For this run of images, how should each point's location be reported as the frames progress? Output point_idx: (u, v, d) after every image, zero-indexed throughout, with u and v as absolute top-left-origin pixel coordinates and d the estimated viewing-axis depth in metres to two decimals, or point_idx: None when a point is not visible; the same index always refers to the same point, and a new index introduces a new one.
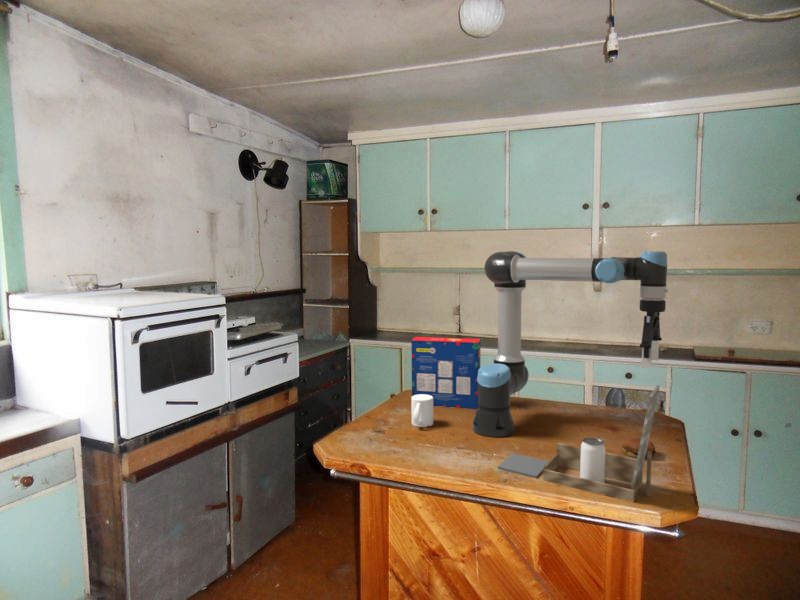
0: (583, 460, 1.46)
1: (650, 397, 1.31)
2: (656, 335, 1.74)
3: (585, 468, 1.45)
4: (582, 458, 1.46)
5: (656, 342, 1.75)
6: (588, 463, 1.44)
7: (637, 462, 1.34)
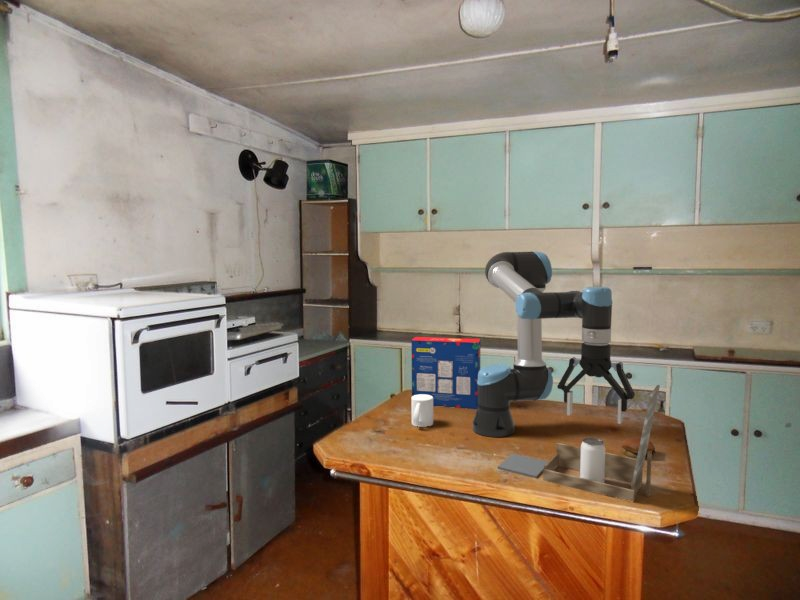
0: (583, 460, 1.46)
1: (650, 397, 1.31)
2: None
3: (585, 468, 1.45)
4: (582, 458, 1.46)
5: None
6: (588, 463, 1.44)
7: (637, 462, 1.34)
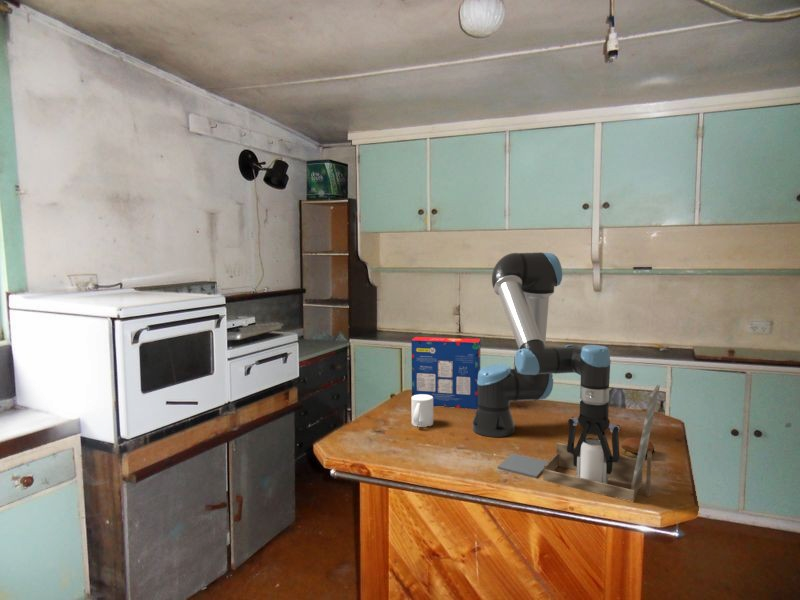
0: (583, 460, 1.46)
1: (650, 397, 1.31)
2: None
3: (585, 468, 1.45)
4: (582, 458, 1.46)
5: None
6: (588, 463, 1.44)
7: (637, 462, 1.34)
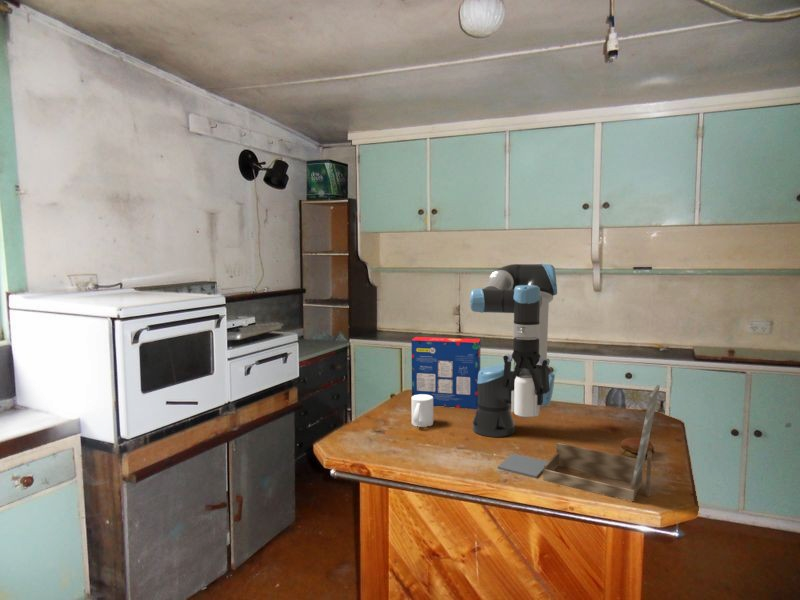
0: (516, 393, 1.55)
1: (650, 397, 1.31)
2: None
3: (518, 400, 1.55)
4: (515, 391, 1.56)
5: None
6: (520, 395, 1.54)
7: (637, 462, 1.34)
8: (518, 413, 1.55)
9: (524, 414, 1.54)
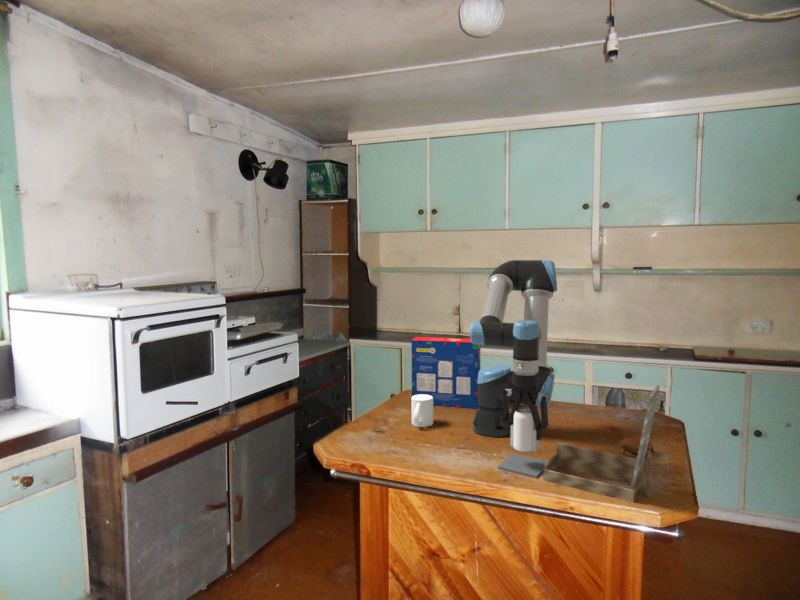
0: (515, 427, 1.56)
1: (650, 397, 1.31)
2: None
3: (517, 435, 1.56)
4: (514, 426, 1.56)
5: None
6: (519, 430, 1.55)
7: (637, 462, 1.34)
8: (517, 448, 1.56)
9: (523, 449, 1.55)
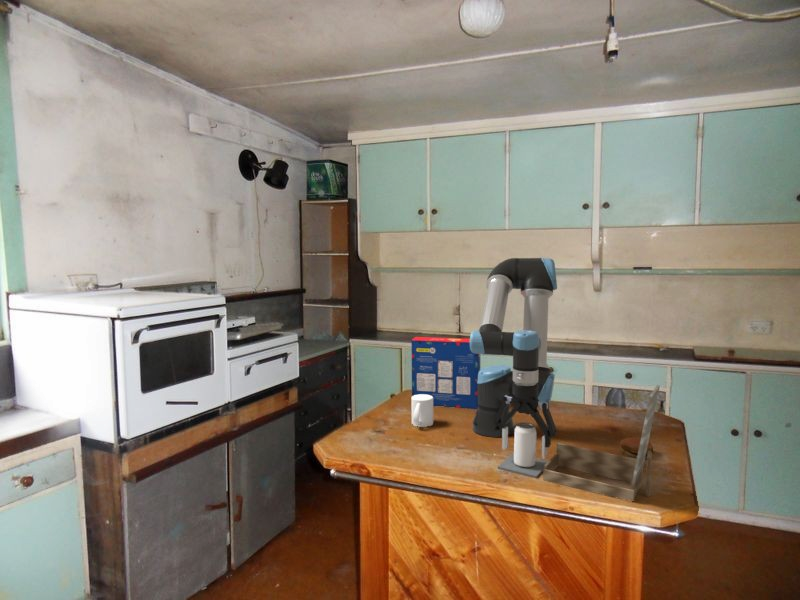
0: (516, 442, 1.57)
1: (650, 397, 1.31)
2: None
3: (517, 450, 1.56)
4: (515, 441, 1.57)
5: None
6: (519, 445, 1.56)
7: (637, 462, 1.34)
8: (517, 463, 1.56)
9: (523, 464, 1.55)
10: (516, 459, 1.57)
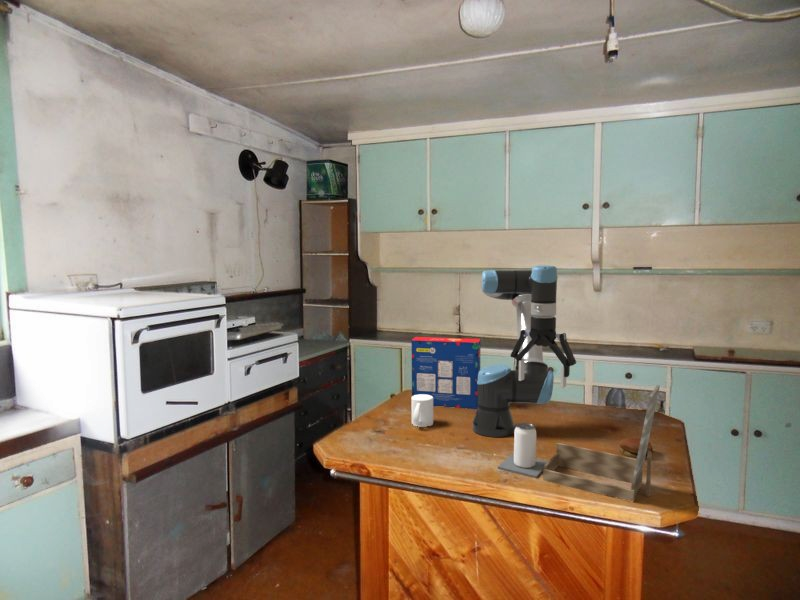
0: (515, 443, 1.57)
1: (650, 397, 1.31)
2: None
3: (517, 451, 1.56)
4: (515, 441, 1.57)
5: None
6: (519, 446, 1.55)
7: (637, 462, 1.34)
8: (517, 463, 1.56)
9: (523, 465, 1.55)
10: (516, 460, 1.57)
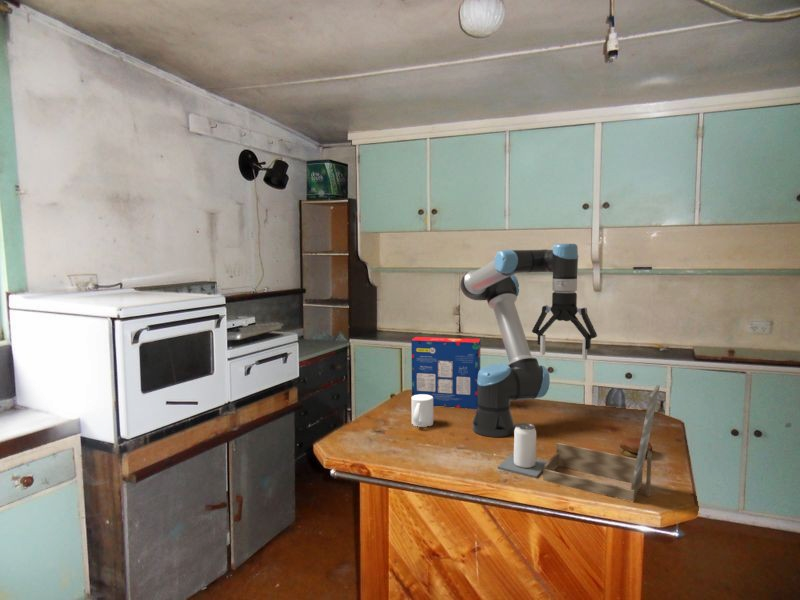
0: (515, 443, 1.57)
1: (650, 397, 1.31)
2: None
3: (517, 451, 1.56)
4: (515, 441, 1.57)
5: None
6: (519, 446, 1.55)
7: (637, 462, 1.34)
8: (517, 463, 1.57)
9: (523, 465, 1.55)
10: (516, 460, 1.57)
